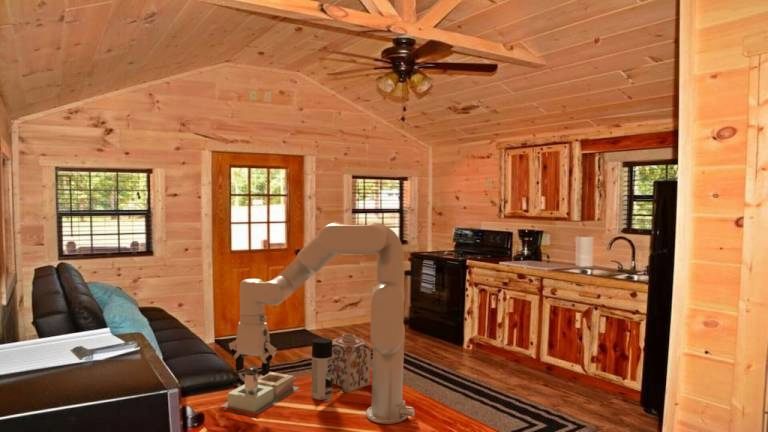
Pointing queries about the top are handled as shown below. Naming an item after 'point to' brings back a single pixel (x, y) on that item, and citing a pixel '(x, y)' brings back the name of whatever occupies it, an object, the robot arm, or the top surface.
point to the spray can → (322, 369)
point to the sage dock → (250, 398)
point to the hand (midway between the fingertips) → (252, 372)
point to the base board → (263, 406)
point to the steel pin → (251, 380)
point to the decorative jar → (350, 363)
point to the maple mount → (277, 382)
